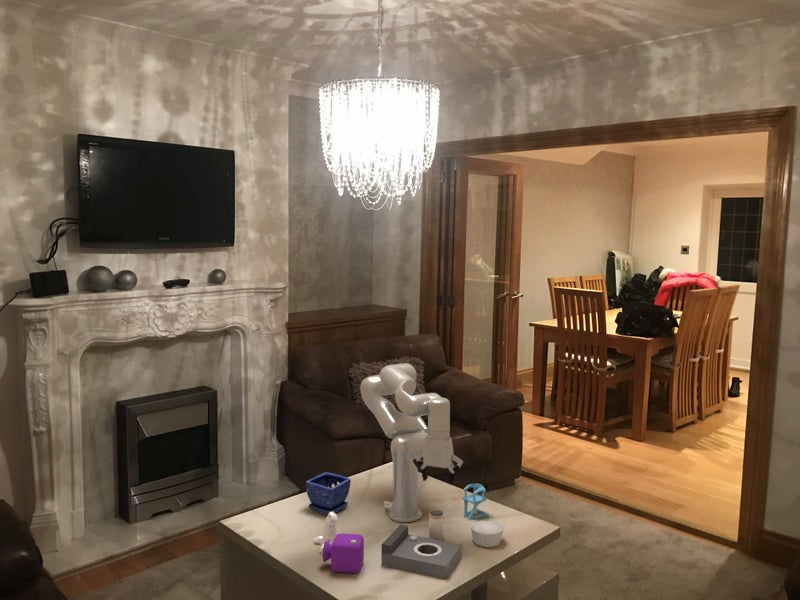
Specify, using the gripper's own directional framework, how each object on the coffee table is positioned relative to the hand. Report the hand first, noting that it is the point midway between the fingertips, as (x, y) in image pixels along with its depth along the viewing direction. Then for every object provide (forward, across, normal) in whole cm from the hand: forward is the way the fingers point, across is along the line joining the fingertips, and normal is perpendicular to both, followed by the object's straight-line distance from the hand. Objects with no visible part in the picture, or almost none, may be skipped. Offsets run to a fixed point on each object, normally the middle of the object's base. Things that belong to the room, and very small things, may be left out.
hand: (438, 481), depth 228 cm
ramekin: (+21, +16, +4) cm, 27 cm away
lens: (+21, -1, 0) cm, 21 cm away
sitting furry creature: (+21, -33, -20) cm, 44 cm away
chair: (+21, +7, +24) cm, 32 cm away
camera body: (+21, 0, -17) cm, 27 cm away
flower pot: (+21, -47, +8) cm, 52 cm away
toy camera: (+21, -22, -31) cm, 43 cm away
